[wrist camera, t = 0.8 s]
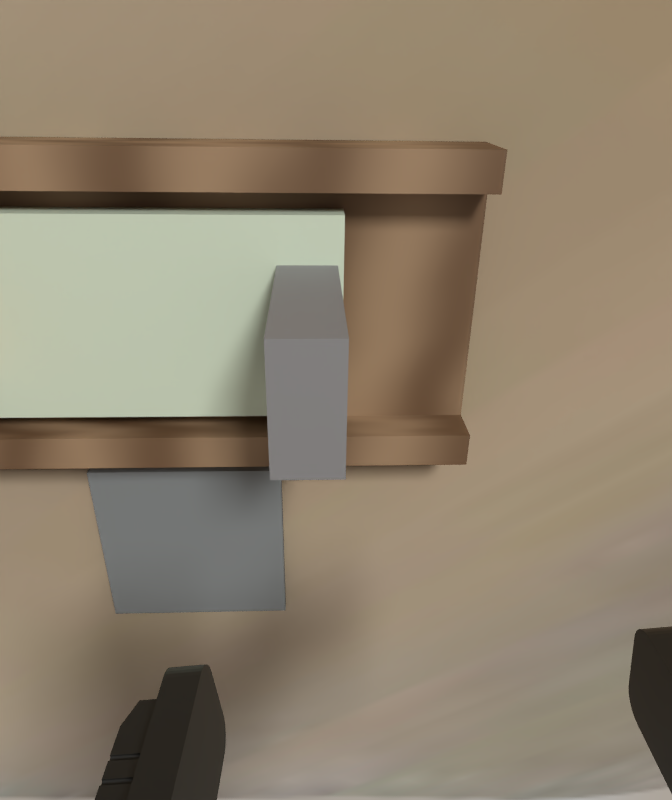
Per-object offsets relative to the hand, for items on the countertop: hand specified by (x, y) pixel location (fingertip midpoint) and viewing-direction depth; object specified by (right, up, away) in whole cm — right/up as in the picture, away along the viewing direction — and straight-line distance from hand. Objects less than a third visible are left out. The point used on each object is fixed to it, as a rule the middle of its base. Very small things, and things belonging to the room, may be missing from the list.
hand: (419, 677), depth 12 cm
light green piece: (-12, +9, +16) cm, 22 cm away
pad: (-10, -3, +23) cm, 25 cm away
